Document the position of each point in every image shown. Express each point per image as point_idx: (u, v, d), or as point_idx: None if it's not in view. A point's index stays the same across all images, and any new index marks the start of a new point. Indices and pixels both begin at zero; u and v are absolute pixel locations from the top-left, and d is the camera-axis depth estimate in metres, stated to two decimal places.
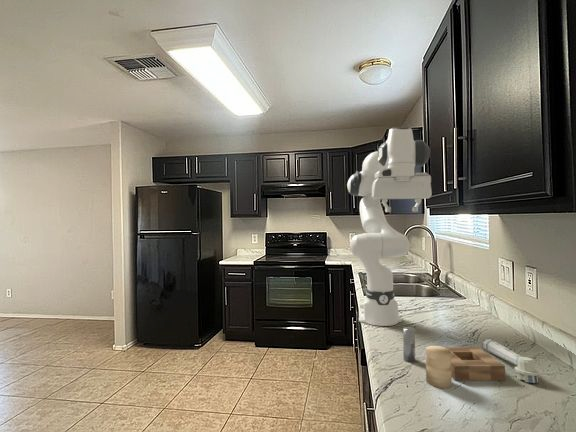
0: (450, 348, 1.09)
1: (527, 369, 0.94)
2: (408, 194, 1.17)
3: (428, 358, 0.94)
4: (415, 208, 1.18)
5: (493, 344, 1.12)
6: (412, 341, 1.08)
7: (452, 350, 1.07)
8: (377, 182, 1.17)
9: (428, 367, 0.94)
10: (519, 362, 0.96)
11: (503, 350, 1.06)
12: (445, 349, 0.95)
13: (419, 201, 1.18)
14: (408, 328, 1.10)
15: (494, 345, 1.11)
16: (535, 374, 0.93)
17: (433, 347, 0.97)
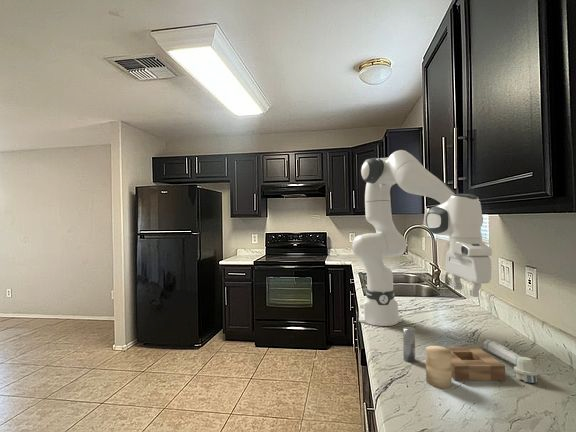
0: (450, 348, 1.09)
1: (526, 369, 0.94)
2: None
3: (428, 358, 0.94)
4: None
5: (493, 344, 1.12)
6: (412, 341, 1.08)
7: (452, 350, 1.07)
8: None
9: (428, 367, 0.94)
10: (518, 361, 0.97)
11: (503, 350, 1.06)
12: (445, 349, 0.95)
13: None
14: (408, 328, 1.10)
15: (494, 345, 1.11)
16: (534, 374, 0.93)
17: (433, 347, 0.97)
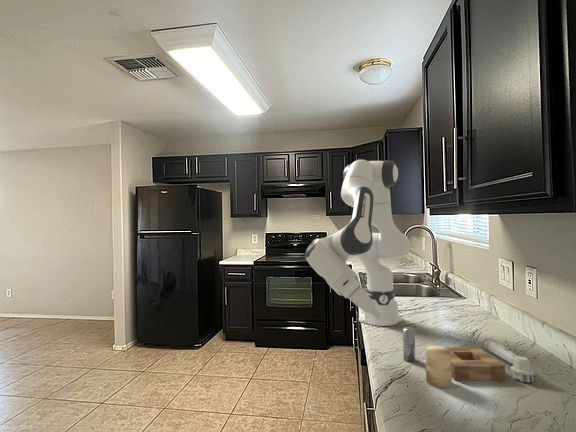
0: (450, 348, 1.09)
1: (522, 369, 0.94)
2: None
3: (428, 358, 0.94)
4: None
5: (493, 344, 1.12)
6: (412, 341, 1.08)
7: (452, 350, 1.07)
8: None
9: (428, 367, 0.94)
10: (514, 361, 0.97)
11: (501, 350, 1.06)
12: (445, 349, 0.95)
13: None
14: (408, 328, 1.10)
15: (494, 345, 1.11)
16: (530, 373, 0.93)
17: (433, 347, 0.97)
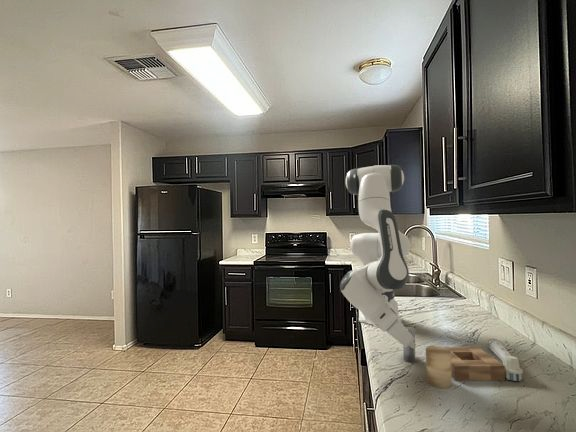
0: (450, 348, 1.09)
1: (510, 367, 0.96)
2: None
3: (428, 358, 0.94)
4: None
5: (494, 343, 1.12)
6: None
7: (452, 350, 1.07)
8: (402, 324, 1.01)
9: (428, 367, 0.94)
10: (503, 359, 0.98)
11: (498, 349, 1.07)
12: (445, 349, 0.95)
13: None
14: (408, 328, 1.10)
15: (494, 344, 1.12)
16: (516, 372, 0.94)
17: (433, 347, 0.97)
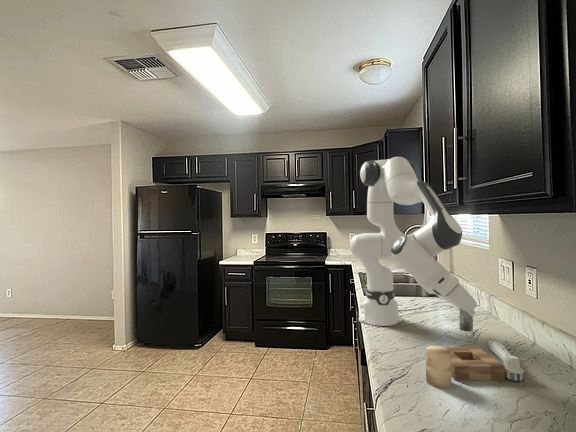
0: (450, 348, 1.09)
1: (511, 367, 0.96)
2: None
3: (428, 358, 0.94)
4: None
5: (494, 343, 1.13)
6: None
7: (452, 350, 1.07)
8: (464, 288, 0.94)
9: (428, 367, 0.94)
10: (504, 359, 0.98)
11: (499, 349, 1.07)
12: (445, 349, 0.95)
13: None
14: None
15: (494, 344, 1.12)
16: (517, 372, 0.94)
17: (433, 347, 0.97)
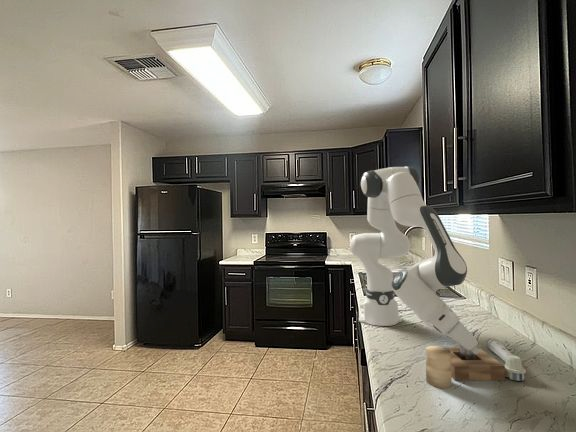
0: (450, 348, 1.09)
1: (513, 367, 0.96)
2: None
3: (428, 358, 0.94)
4: None
5: (494, 343, 1.13)
6: None
7: (452, 350, 1.07)
8: None
9: (428, 367, 0.94)
10: (506, 359, 0.98)
11: (499, 349, 1.07)
12: (445, 349, 0.95)
13: None
14: None
15: (494, 344, 1.12)
16: (519, 372, 0.94)
17: (433, 347, 0.97)
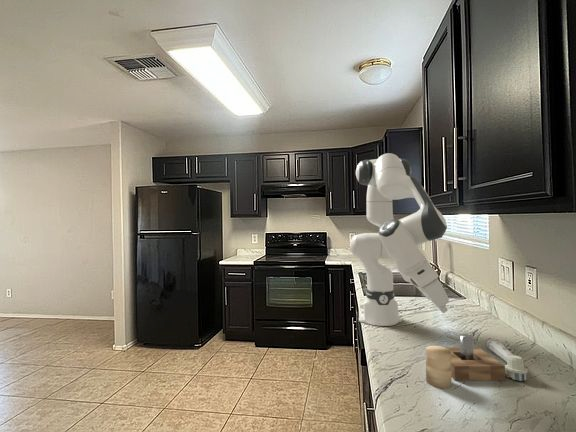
0: (450, 348, 1.09)
1: (515, 367, 0.95)
2: None
3: (428, 358, 0.94)
4: None
5: (494, 343, 1.13)
6: (471, 350, 1.01)
7: (452, 350, 1.07)
8: None
9: (428, 367, 0.94)
10: (508, 359, 0.98)
11: (500, 349, 1.07)
12: (445, 349, 0.95)
13: None
14: (465, 335, 1.03)
15: (494, 344, 1.12)
16: (522, 372, 0.94)
17: (433, 347, 0.97)
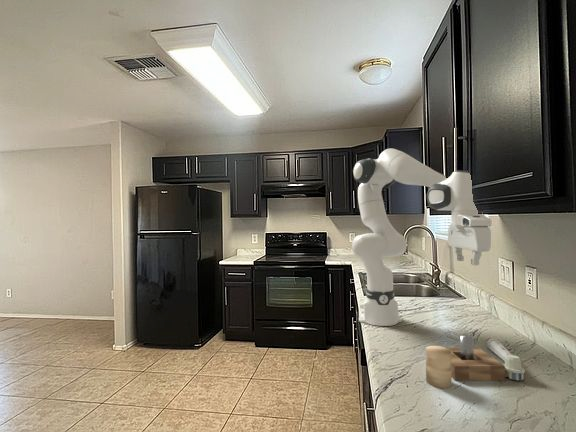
0: (450, 348, 1.09)
1: (512, 367, 0.96)
2: None
3: (428, 358, 0.94)
4: None
5: (494, 343, 1.13)
6: (471, 350, 1.01)
7: (452, 350, 1.07)
8: None
9: (428, 367, 0.94)
10: (505, 359, 0.98)
11: (499, 348, 1.07)
12: (445, 349, 0.95)
13: None
14: (465, 335, 1.03)
15: (494, 344, 1.12)
16: (519, 372, 0.94)
17: (433, 347, 0.97)
